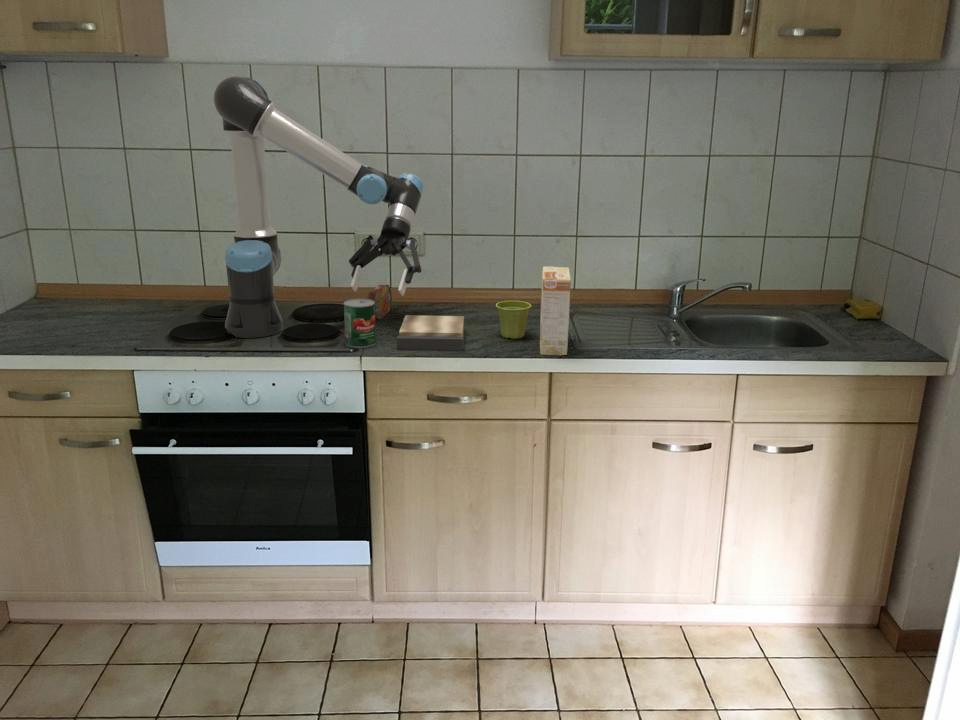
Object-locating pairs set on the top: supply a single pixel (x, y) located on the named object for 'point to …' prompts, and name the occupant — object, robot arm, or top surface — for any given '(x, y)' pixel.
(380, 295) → the orange brown packet
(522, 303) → the plant pot
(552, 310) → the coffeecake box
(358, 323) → the canned tomato
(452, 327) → the block
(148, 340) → the top surface
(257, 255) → the robot arm
